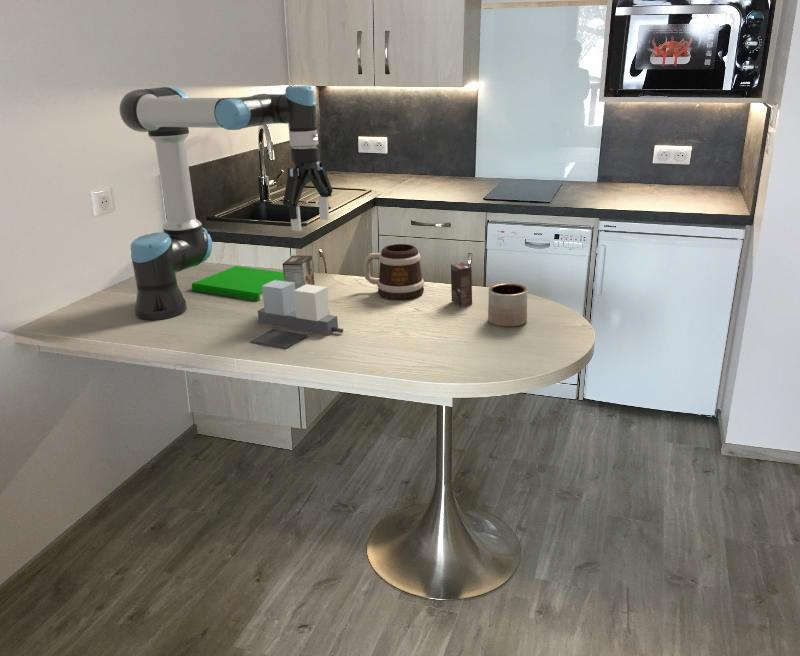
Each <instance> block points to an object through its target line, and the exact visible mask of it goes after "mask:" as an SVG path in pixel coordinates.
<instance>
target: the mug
mask: <svg viewBox="0 0 800 656" xmlns="http://www.w3.org/2000/svg"><path fill="white" fill-rule="evenodd" d="M421 258H422V257H421V254H420V252H419V250H418V248H417V247H416V246H415V245H412V244H406V243H397V244H396V243H395V244H389V245H386V246H384V247H383V248H382V249H381V251H380V252H371V253H369V254H368V255H366V257H365V259H364V261H363V265H362V266H363V267H362V268H363V270H362V271H363V275H364V279H365V280H366V281H368V283H370V284H372V285H376V286H377V293H378V295H379V296H380V297H382V298H383V299H387V300H393V301H405V300H406V301H407V300H412V299H416V298H419V297H420V296H421V295H423V294H424V292H425V289H424V288H425V287H424V285H425V281H424V278H423V276H422V270H421V269H422V268H421V261H420V260H421ZM373 260H379V273H378V274H379V276H378V278H375V277H372V275H371V273H370V272H371V271H370V263H371V262H372V261H373Z"/></svg>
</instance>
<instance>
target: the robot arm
mask: <svg viewBox="0 0 800 656" xmlns="http://www.w3.org/2000/svg"><path fill="white" fill-rule="evenodd" d="M315 96H316V95H315V89H314V87H312V86H311V85H292V86H286V87H285V93H283V94H281V93H280V94H278V93H276V94H275V93H274V94H272V93H260V94H259V93H258V94H253V95H251V96H242V97H190V96H189V95H188V94H186V92H185V91H184V90H182V89H181V88H178V87H175V86H161V87H160V86H159V87H153V88H141V89H133V90H131V91H130V92H129V91H128V93H126V94H125V95H124V96H123V98H122V99H121V100H120V104H119V114H120V118H121V120H122V122H123V123H124V124H125V126H126V127H128V128H130V130H133V131H134V132H135V131H136V132H139V133H148V135H147V136H148V137H149V138H150V139H151V140H152V141H153V142H154V144H155V150H156V155H157V156H156V157H157V163H158V169H159V175H160V176H159V177H160V182H161V188H162V195H163V203H164V209H165V214H166V215H165V216H166V222H165V224H164V225H163V227H162V229H163V230H162V231H163V232H152V233H150V234H144V235H140V236H138V237H137V238H135V239H134V240H133V241H132V242H131V243H130V258H131V261H132V268H133V273H134V277H135V283H136V288H137V293H136V298H135V299H136V302H135V306H134V312H135V316H136V318H138V319H140V320H146V321H147V320H149V321H154V320H155V321H156V320H157V321H158V320H165V319H170V318H174V317H177V316H180V315H181V314H183V313H185V312H186V311H187V309H188V307H187V301H186V299H185V298H184V295H183V293H182V291H181V290H180V288H179V285H178V281H177V274H176V273H179V272H181V271H184V270H186V269H189V268H193V267H197V266H199V265H201V264H202V263H205V262H206V261H207V260H208V259H209V258H210V256H211V254H212V250H213V240H212V237H211V235H210V233H209V232H208V231H207V229H205V227H203V224H202V222H201V221H200V220H198V218H196V211H195V204H194V196H193V189H192V182H191V176H190V175H191V174H190V168H189V161H188V159H189V158H188V155H187V147H186V139H187V137H188V136H189V135H190V130H189V129H190V128H201V129H204V128H205V129H206V128H207V129H208V128H211V129H216V128H217V129H221V128H223V129H224V130H226V131H227V130H228V131H239V130H243V129H245V128H247V129H248V128H253V127H259V126H265V125H266V126H267V125H273V124H285V125H286V124H288V126H287V127H288V135H289V137H288V139H289V145H290V147H291V149H290V157H291V162H292V163H294V168H291V167H290V168H289V167H288V168H287V179H286V185H285V190H284V195H283V200H282V206H285V207H288V209H289V213H288V214H289V219H290V226H291V231H294V232H295V231H297V232H301V231H302V220H301V208H300V206H299V202H300V199H301V195H302V193H303V190H304V188H305V186H306V185H307V184H308V183H310V182H311V183H312V185H313V187H314V188H315V190H316V192H317V193H318V194H319V195H320V196H318V199H317V201H318V210H319V220H320V221H330V211H329V208H330V207H329V204H330V203H329V197H332V196H333V195H332V193H333V188H332V186H331V185H332V184H331V182H330V180H329V177H328V174H327V171H326V168H325V163H324V161H320V157H321V156H320V148H319V147H318V145H319V136H318V125H317V122H318V121H317V102H316V97H315Z"/></svg>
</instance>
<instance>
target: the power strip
mask: <svg viewBox="0 0 800 656" xmlns="http://www.w3.org/2000/svg"><path fill="white" fill-rule="evenodd" d="M257 317H258V324H259V325H263V326H271V327H275V328H282V329H288V330H294V331H300V332H306V333H311V334H316V335H322V336H330V335H332V334H333V333H340V334H343V333H344V328H340V327H339V322H338V321H339V320H338V316H337V315H332V314H329V315H327V316H325V317H323V318H322V319H320V320H318V321H313V320H307V319H301V318H296V310H295V311H293V312H291V313H289V314H287V315H285V316H282V315H276V314H270V313H265V310H264V307H262V308H260V309H258V310H257Z"/></svg>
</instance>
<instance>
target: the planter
mask: <svg viewBox="0 0 800 656" xmlns="http://www.w3.org/2000/svg"><path fill="white" fill-rule="evenodd" d="M487 304H488V307H487V308H488V310H487V319H488V321H489V322H490V323H491V324H492V325H494V326H497V327H501V328H502V327H503V328H515V327H519V326H522V325H523V324H525V323H526V322H527V321H528V320H527V319H528V288H527V286H524V285H522V284H519V283H510V282H509V283H507V282H506V283H496V284H493V285H492V286H490V287H489V288H488V303H487Z"/></svg>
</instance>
